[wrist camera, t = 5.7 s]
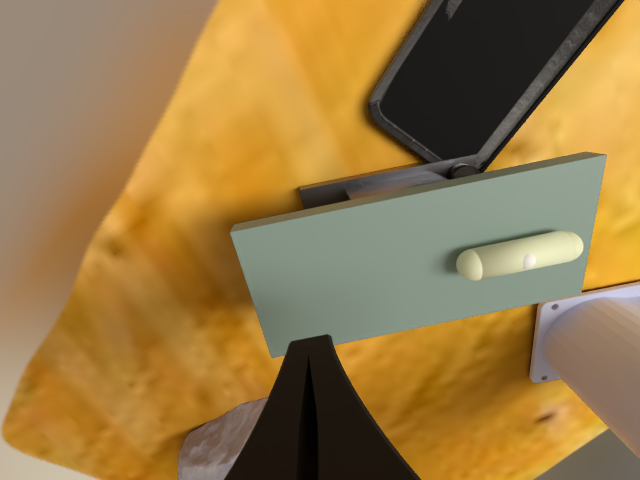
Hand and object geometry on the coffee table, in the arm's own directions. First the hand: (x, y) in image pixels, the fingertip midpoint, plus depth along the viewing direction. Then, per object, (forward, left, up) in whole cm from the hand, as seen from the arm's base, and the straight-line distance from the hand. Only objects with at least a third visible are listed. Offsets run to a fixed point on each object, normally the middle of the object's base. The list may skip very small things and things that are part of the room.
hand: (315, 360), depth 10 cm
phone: (-12, -10, -10) cm, 19 cm away
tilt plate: (-5, 0, -5) cm, 8 cm away
